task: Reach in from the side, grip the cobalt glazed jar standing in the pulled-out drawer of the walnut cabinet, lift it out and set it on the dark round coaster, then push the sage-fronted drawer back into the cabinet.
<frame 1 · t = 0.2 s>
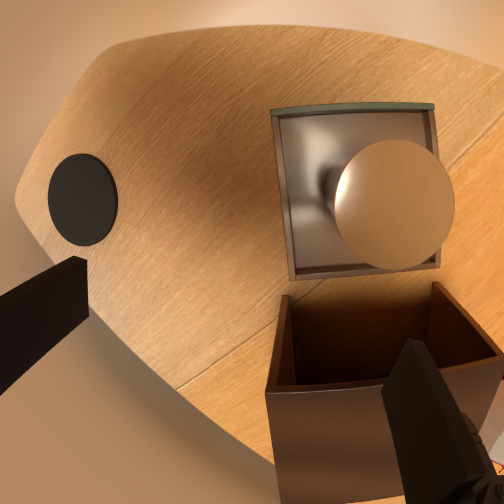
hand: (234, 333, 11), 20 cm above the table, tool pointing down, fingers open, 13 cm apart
jar: (362, 189, 27), point 1 cm above the table, touching drawer
coaster: (81, 200, 33), on the table
drawer: (363, 189, 26), point 2 cm above the table, slide at 17.5 cm, touching jar
decorative object: (503, 389, 31), on the table
cabinet: (362, 353, 33), on the table
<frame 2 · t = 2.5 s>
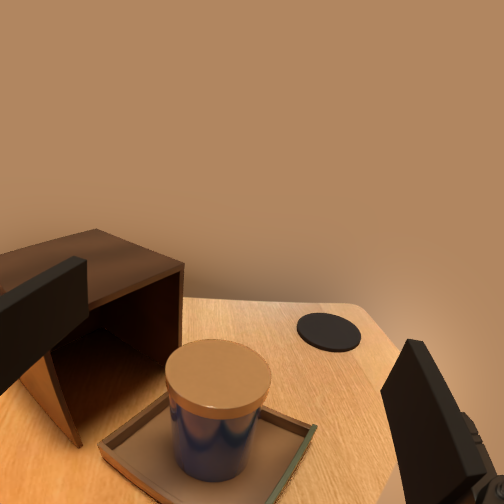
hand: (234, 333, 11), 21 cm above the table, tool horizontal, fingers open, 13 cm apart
jar: (211, 452, 25), point 1 cm above the table, touching drawer
coaster: (328, 332, 50), on the table
drawer: (211, 449, 25), point 2 cm above the table, slide at 17.5 cm, touching jar
cabinet: (91, 374, 33), on the table
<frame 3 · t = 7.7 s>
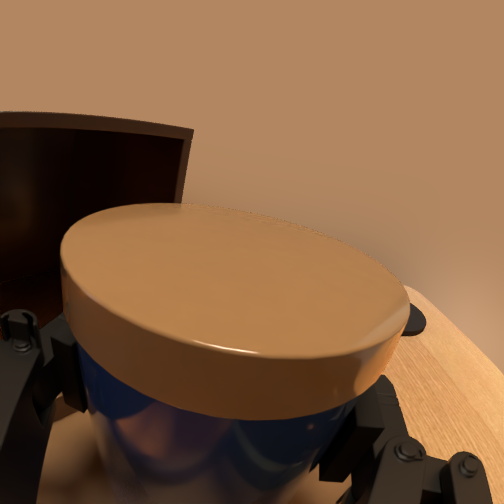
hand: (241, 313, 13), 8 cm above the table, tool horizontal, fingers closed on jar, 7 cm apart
jar: (195, 489, 10), point 1 cm above the table, touching drawer, gripper
coaster: (384, 311, 35), on the table
drawer: (196, 484, 10), point 2 cm above the table, slide at 17.5 cm, touching jar
cabinet: (26, 319, 19), on the table
when the fingers open (7 cm above the table, at t = 18.8 s): jar stays where it is, resting on coaster.
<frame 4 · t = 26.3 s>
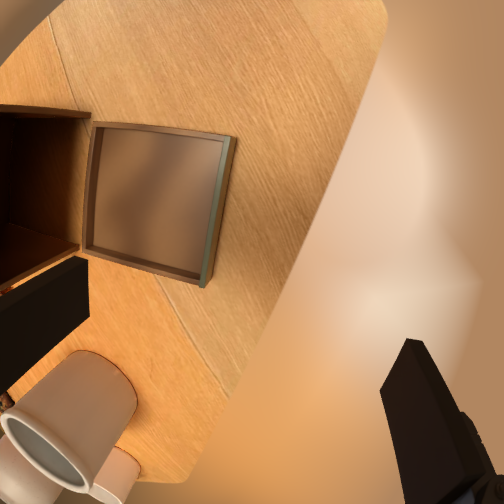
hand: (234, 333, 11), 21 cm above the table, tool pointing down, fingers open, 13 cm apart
vase: (55, 433, 52), on the table
bread roll: (3, 395, 53), on the table
mug: (114, 454, 49), on the table
drawer: (148, 198, 30), point 2 cm above the table, slide at 17.5 cm
utensil holder: (100, 383, 42), on the table
cabinet: (39, 175, 33), on the table
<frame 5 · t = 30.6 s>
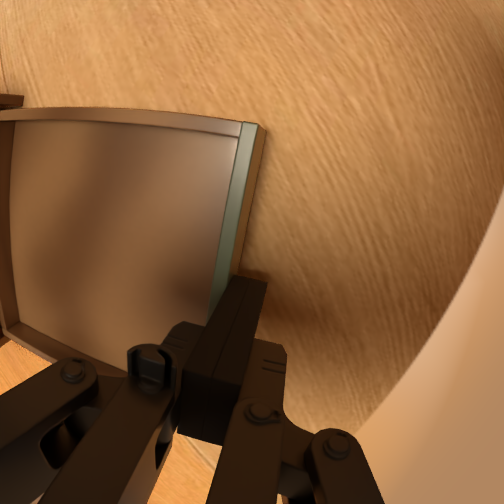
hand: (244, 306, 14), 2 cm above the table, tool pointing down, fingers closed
drawer: (83, 260, 14), point 2 cm above the table, slide at 15.3 cm, touching gripper
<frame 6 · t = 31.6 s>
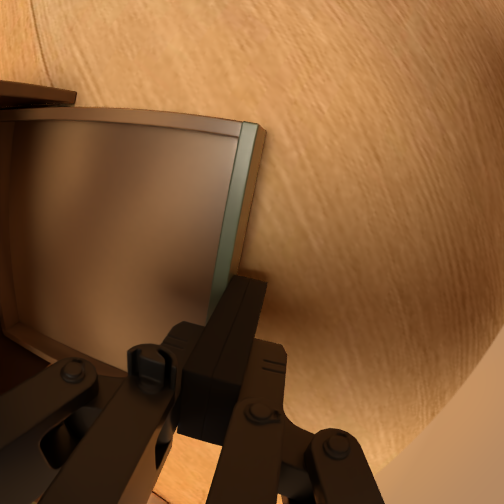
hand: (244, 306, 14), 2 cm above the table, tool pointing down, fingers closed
drawer: (83, 260, 14), point 2 cm above the table, slide at 10.3 cm, touching gripper
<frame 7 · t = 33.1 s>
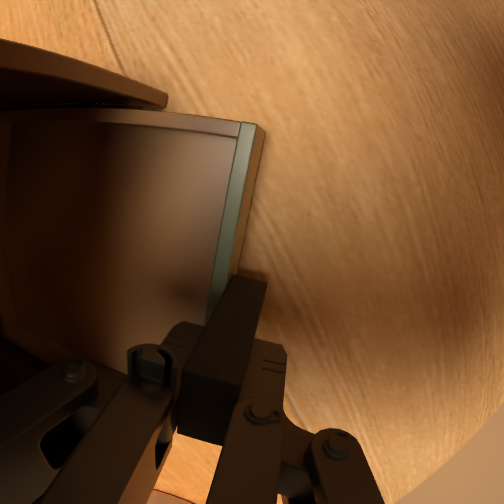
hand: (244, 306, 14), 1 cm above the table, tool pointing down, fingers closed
drawer: (81, 261, 14), point 2 cm above the table, slide at 4.5 cm
cabinet: (37, 232, 16), on the table
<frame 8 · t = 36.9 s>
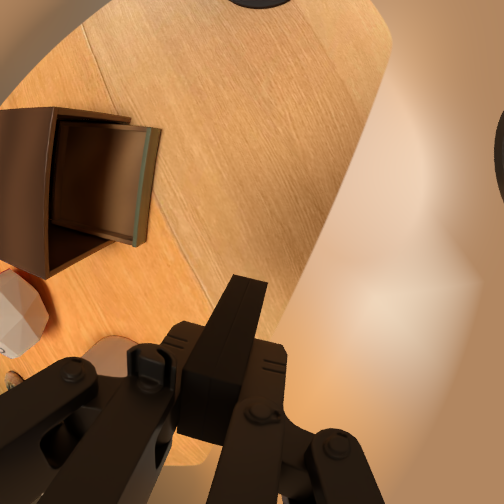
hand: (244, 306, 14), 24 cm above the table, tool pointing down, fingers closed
bread roll: (21, 386, 58), on the table
drawer: (98, 179, 37), point 2 cm above the table, slide at 4.5 cm
decorative object: (32, 298, 47), on the table
utensil holder: (127, 367, 48), on the table
cabinet: (77, 173, 39), on the table
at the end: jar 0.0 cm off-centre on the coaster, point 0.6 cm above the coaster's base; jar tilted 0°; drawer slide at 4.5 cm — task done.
